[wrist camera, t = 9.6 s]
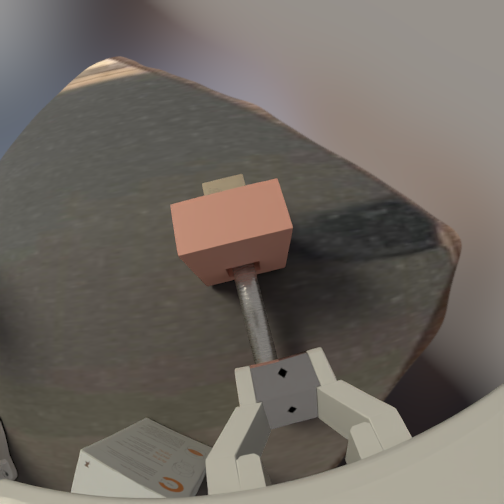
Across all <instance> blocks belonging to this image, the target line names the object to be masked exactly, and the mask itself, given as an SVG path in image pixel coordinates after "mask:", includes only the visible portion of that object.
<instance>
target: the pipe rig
mask: <svg viewBox="0 0 504 504" xmlns="http://www.w3.org/2000/svg"><path fill="white" fill-rule="evenodd" d="M202 186H203V191H204V196H205V195H209V194H213V193H217V192H221V191H225V190H229V189H234V188H238V187H242V186H245V182H244V178H243V175H242V174H239V175H235V176H231V177H227V178H223V179H219V180H215V181H211V182H207V183H203V184H202ZM232 270H233V274H234V279H235V283H236V287H237V292H238V296H239V300H240V304H241V309H242V313H243V317H244V321H245V325H246V330H247V334H248V338H249V342H250V346H251V350H252V354H253V358H254V362H255V364H259V363H264V362H268V361H273V360H277V359H278V358H277V354H276V350H275V346H274V342H273V338H272V334H271V330H270V326H269V322H268V318H267V314H266V310H265V306H264V302H263V298H262V294H261V290H260V286H259V282H258V278H257V274H256V270H255V266H254V262H253V263H249V264H245V265H241V266H237V267H233V268H232Z"/></svg>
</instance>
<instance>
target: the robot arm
mask: <svg viewBox="0 0 504 504" xmlns="http://www.w3.org/2000/svg"><path fill="white" fill-rule="evenodd" d="M235 377H236V384H237V390H238V397H239V403H240V407H236V408H235V410H234V412H233V413H232V415H231V417H230V419H229V421H228V422H227V424H226V426H225V428H224V429H223V431H222V433H221V435H220V436H219V438H218V440H217V441H216V443H215V445H214V446H213V448H212V450H211V452H210V453H209V455H208V457H207V458H206V460H205V461H206V474H207V486H208V495H204V496H192V497H174V498H125V497H108V496H96V495H87V494H78V493H71V492H65V491H58V490H53V489H47V488H42V487H38V486H33V485H29V484H24V483H20V482H17V481H14V480H15V479H16V478H17V471H16V468H15V466H14V464H13V462H12V460H11V457H10V455H9V451H8V445H7V441H6V437H5V433H4V430H3V427H2V424H1V422H0V504H504V383H503V384H502V385H500V386H499V387H498V388H496V389H495V390H493V391H492V392H491V393H489V394H488V395H486V396H485V397H483V398H482V399H480V400H479V401H477V402H476V403H474V404H472V405H471V406H469V407H468V408H466V409H464V410H463V411H461V412H459V413H458V414H456V415H454V416H453V417H451V418H449V419H447V420H445V421H444V422H442V423H440V424H438V425H436V426H434V427H433V428H431V429H429V430H427V431H425V432H423V433H421V434H419V435H417V436H415V437H413V438H412V437H411V435H410V433H409V431H408V430H407V428H406V426H405V424H404V422H403V420H402V419H401V417H400V415H399V413H398V412H397V410H396V408H394V407H392V406H390V405H388V404H386V403H384V402H382V401H380V400H378V399H376V398H374V397H373V396H371V395H369V394H367V393H365V392H363V391H361V390H359V389H358V388H356V387H354V386H352V385H350V384H348V383H346V382H345V381H343V380H339V381H337V379H336V377H335V375H334V373H333V371H332V368H331V366H330V364H329V362H328V360H327V358H326V356H325V354H324V351H323V349H322V348H321V347H319V348H315V349H312V350H308V351H304V352H301V353H297V354H294V355H290V356H287V357H283V358H279V359H277V360H273V361H268V362H264V363H259V364H254V365H250V366H245V367H241V368H236V369H235ZM316 417H318V418H319V419H321V420H322V421H323V422H325V423H326V424H327V425H329V426H330V427H331V428H333V429H334V430H335V431H337V432H338V433H339V434H341V435H342V436H344V437H345V438H346V439H348V440H349V441H348V447H347V454H346V459H345V460H346V462H347V465H344V466H341V467H338V468H335V469H332V470H329V471H325V472H322V473H319V474H315V475H312V476H308V477H304V478H300V479H297V480H293V481H288V482H284V483H280V484H275V485H272V484H271V480H270V478H269V476H268V474H267V472H266V469H265V467H264V465H263V463H262V461H261V459H260V457H261V455H262V452H263V450H264V447H265V445H266V442H267V440H268V437H269V435H270V432H271V429H274V428H278V427H282V426H285V425H289V424H292V423H296V422H300V421H304V420H308V419H312V418H316Z"/></svg>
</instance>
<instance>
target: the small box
mask: <svg viewBox="0 0 504 504" xmlns="http://www.w3.org/2000/svg"><path fill="white" fill-rule="evenodd" d="M211 450H212V447H210V446H207V445H205V444H202V443H200V442H198V441H195V440H193V439H191V438H189V437H186V436H184V435H182V434H180V433H178V432H175V431H173V430H171V429H169V428H167V427H165V426H163V425H161V424H159V423H157V422H155V421H153V420H151V419H149V418H145V419H143V420H141V421H139V422H137V423H135V424H133V425H131V426H129V427H127V428H125V429H123V430H121V431H119V432H117V433H115V434H113V435H111V436H109V437H107V438H105V439H103V440H101V441H98V442H96V443H94V444H92V445H90V446H88V447H85V448H83V449H81V451H80V455H79V460H78V464H77V467H76V472H75V476H74V480H73V485H72V489H71V493H78V494H87V495H96V496H108V497H125V498H174V497H192V496H195V495H196V493H197V492H198V489H199V487H200V485H201V483H202V481H203V479H204V476H205V474H206V461H205V460H206V458H207V457H208V455H209V453H210V452H211Z"/></svg>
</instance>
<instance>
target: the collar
mask: <svg viewBox="0 0 504 504" xmlns="http://www.w3.org/2000/svg"><path fill="white" fill-rule="evenodd" d="M171 213H172V219H173V226H174V233H175V239H176V246H177V252H178V256H179V257H180V258H181V259H182V260H183V262H184V263H185V264H186V265H187V266H188V267H189V268H190V269H191V270H192V271H193V272H194V273H195V274H196V275H197V276H198V277H199V278H200V279H201V281H202V282H203V283H204V284H205V285H206V286H211V285H215V284H219V283H223V282H228V281H232V280H235V279H234V274H233V270H232V268H233V267H237V266H241V265H245V264H249V263H253V262H254V266H255V270H256V274H260V273H264V272H268V271H272V270H276V269H280V268H284V267H285V266H286V261H287V256H288V251H289V246H290V241H291V235H292V230H293V226H292V223H291V220H290V217H289V213H288V210H287V207H286V204H285V201H284V198H283V195H282V191H281V188H280V185H279V182H278V179H273V180H268V181H264V182H259V183H255V184H251V185H246V186H242V187H238V188H234V189H229V190H225V191H221V192H217V193H213V194H209V195H205V196H202V197H198V198H194V199H190V200H186V201H183V202H179V203H175V204H172V205H171Z"/></svg>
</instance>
